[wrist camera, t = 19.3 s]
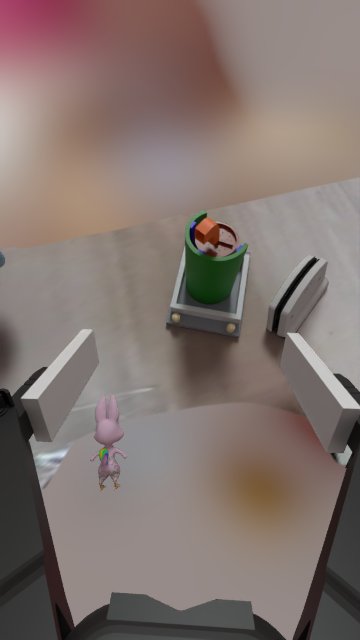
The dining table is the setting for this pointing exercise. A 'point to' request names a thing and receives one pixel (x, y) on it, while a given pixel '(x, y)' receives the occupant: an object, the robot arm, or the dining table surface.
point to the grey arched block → (297, 296)
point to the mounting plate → (206, 316)
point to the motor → (211, 259)
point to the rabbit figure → (108, 439)
